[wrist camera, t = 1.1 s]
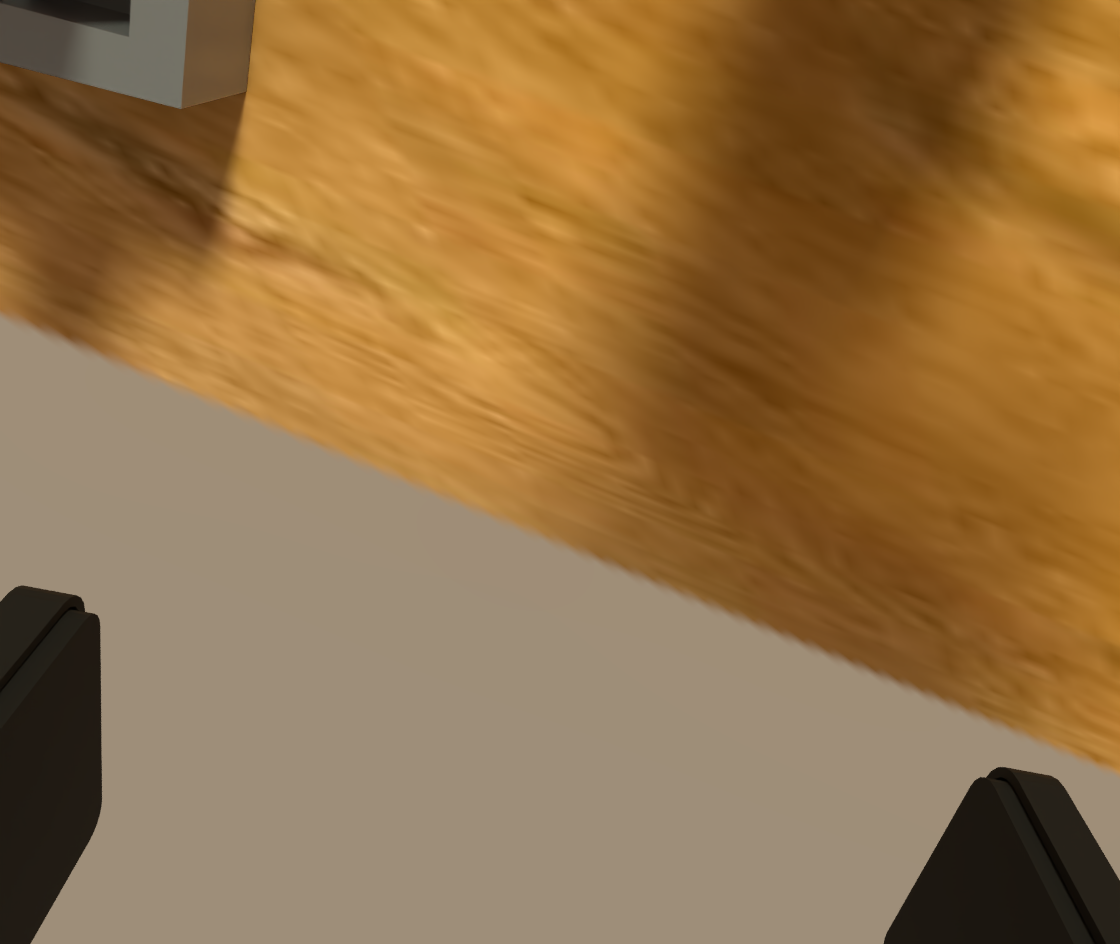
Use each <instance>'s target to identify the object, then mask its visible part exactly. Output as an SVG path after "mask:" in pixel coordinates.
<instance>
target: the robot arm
mask: <svg viewBox="0 0 1120 944" xmlns="http://www.w3.org/2000/svg"><path fill="white" fill-rule="evenodd" d="M100 665H101V662H100V621H99V618H98V616H97V615H95V614H93V613H87V612H85V608H84V603H83V601H82V599H81V598H80V597H78V596H76V595H71V594H66V593H60V592H55V591H49V590H43V589H38V588H33V587H28V586H18V587H16V588H14V589H13V590H12V591H10V592H9V593H8V594H7V595H6V596H5V597H4V598H3V600H2V601H1V602H0V944H30V943H31V942H32V940H33V938H34V936H35V934H36V933H37V931H38V929H39V928H40V926H41V924H42V923H43V921H44V919H45V917H46V915H47V914H48V912H49V910H50V909H51V907H52V905H53V903H54V902H55V900H56V898H57V896H58V895H59V893H60V891H61V889H62V888H63V886H64V884H65V882H66V881H67V879H68V877H69V875H70V874H71V872H72V870H73V868H74V867H75V865H76V863H77V861H78V860H79V858H80V856H81V854H82V853H83V851H84V849H85V847H86V846H87V844H88V842H89V840H90V838H91V836H92V835H93V832H94V830H95V827H96V824H97V822H98V818H99V815H100V810H101V804H102V765H101V763H102V761H101V666H100ZM884 944H1120V880H1119V879H1118V877H1117V875H1116V874H1115V872H1114V870H1113V869H1112V867H1111V865H1110V864H1109V862H1108V860H1107V859H1106V857H1105V855H1104V853H1103V852H1102V850H1101V848H1100V847H1099V845H1098V843H1097V842H1096V840H1095V838H1094V837H1093V835H1092V833H1091V832H1090V830H1089V828H1088V826H1087V825H1086V823H1085V821H1084V820H1083V818H1082V816H1081V815H1080V813H1079V811H1078V810H1077V808H1076V806H1075V805H1074V803H1073V801H1072V800H1071V798H1070V796H1069V794H1068V793H1067V791H1066V790H1065V788H1064V786H1062V784H1061V783H1060V782H1059V780H1057V779H1056V778H1054V777H1052V776H1049V775H1043V774H1038V773H1033V772H1027V771H1021V770H1016V769H1011V768H1006V767H998V768H996V769H994V770H993V771H991V772H990V773H989V775H988V776H987V777H986V778H982V777H980V778H978V779H977V780H975V781H974V782H973V784H972V785H971V786H970V788H969V790H968V792H967V794H966V795H965V797H964V799H963V800H962V803H961V804H960V806H959V807H958V809H957V811H956V813H955V815H954V816H953V818H952V820H951V822H950V823H949V825H948V827H947V829H946V830H945V832H944V834H943V836H942V837H941V839H940V841H939V843H938V844H937V846H936V848H935V850H934V851H933V853H932V855H931V857H930V858H929V860H928V862H927V864H926V865H925V867H924V869H923V871H922V872H921V874H920V876H919V878H918V879H917V881H916V883H915V885H914V886H913V888H912V890H911V892H910V893H909V895H908V897H907V899H906V900H905V902H904V904H903V906H902V907H901V909H900V911H899V913H898V915H897V916H896V918H895V920H894V921H893V923H892V925H891V927H890V928H889V930H888V932H887V934H886V937H885V940H884Z"/></svg>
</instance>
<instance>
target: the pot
mask: <svg viewBox="0 0 1120 944" xmlns="http://www.w3.org/2000/svg"><path fill="white" fill-rule="evenodd" d="M254 9H255V0H0V62H1V63H5V64H9V65H13V66H17V67H21V68H24V69H28V70H32V71H36V72H40V73H44V74H48V75H51V76H55V77H59V78H63V79H67V80H71V81H75V82H79V83H82V84H86V85H90V86H94V87H98V88H102V89H106V90H109V91H113V92H117V93H121V94H125V95H129V96H133V97H137V98H140V99H144V100H148V101H152V102H156V103H160V104H164V105H167V106H171V107H175V108H179V109H183V108H187V107H191V106H194V105H198V104H202V103H206V102H209V101H213V100H217V99H221V98H224V97H228V96H232V95H236V94H239V93H243V92H246V89H247V79H248V69H249V59H250V49H251V39H252V29H253V19H254Z"/></svg>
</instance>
